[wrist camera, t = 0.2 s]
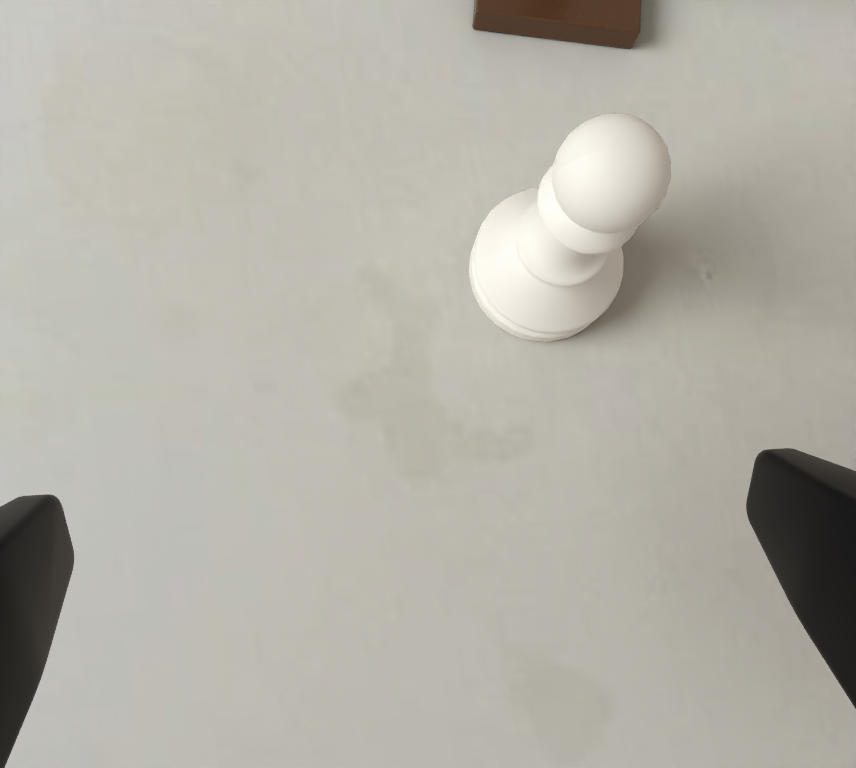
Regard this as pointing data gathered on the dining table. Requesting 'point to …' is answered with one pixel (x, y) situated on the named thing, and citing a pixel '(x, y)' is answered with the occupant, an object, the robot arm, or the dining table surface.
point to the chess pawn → (570, 230)
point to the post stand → (563, 19)
